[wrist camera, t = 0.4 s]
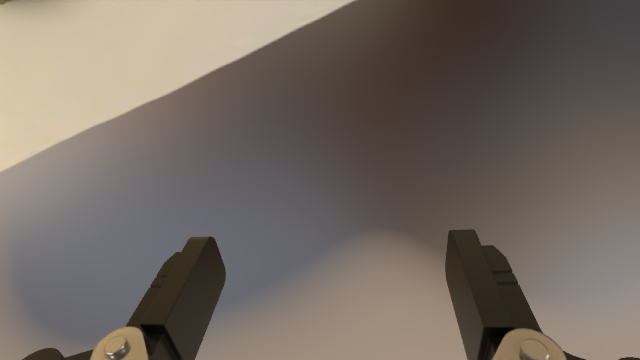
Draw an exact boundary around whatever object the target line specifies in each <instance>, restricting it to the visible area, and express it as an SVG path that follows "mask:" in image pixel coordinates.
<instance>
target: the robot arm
mask: <svg viewBox="0 0 640 360" xmlns="http://www.w3.org/2000/svg"><path fill="white" fill-rule="evenodd" d="M445 272H446V280H447V285H448V288H449V292H450V296H451V300H452V303H453V307H454V310H455V314H456V318H457V322H458V325H459V329H460V333H461V337H462V340H463V344H464V348H465V351H466V355H467V359H468V360H585V359H581V358H578V357H576V356H573V355H571V354H568V353H566V352H565V351H563V350H562V349H561V348H560V346H559V345H558V344H557V343H556V342H555V341H553V340H552V339H551V338H549V337H548V336H546V335H545V334H543V333H542V331H541V329H540V327H539V325H538V323H537V321H536V319H535V317H534V315H533V313H532V311H531V309H530V307H529V304H528V302H527V300H526V298H525V296H524V294H523V292H522V290H521V288H520V286H519V285H518V282H517V279H516V278H515V275H514V274H513V273H512V269H511V267H510V265H509V263H508V261H507V259H506V257H505V256H504V255H503V254H502V253H501V252H500V251H499V250H497V249H496V248H495V247H494V246H493V245H492V246H490V245H489V246H481V244H480V241H479V239H478V236H477V234H476V232H475V231H474V230H450V231H449V233H448V242H447V252H446V263H445ZM225 276H226V272H225V267H224V263H223V261H222V258H221V255H220V252H219V249H218V246H217V243H216V241H215V239H214V238H213V237H191V238H190V239H189V240H188V241H187V243H186V245H185V247H184V248H183V250H182V252H176V253H175V254H174V255H173V256H172V257H170V258H169V259H168V260H167V261H166V262H165V263H164V264H163V266H162V268H161V269H160V271H159V272H158V274H157V278H155V279H154V281H153V282H152V284H151V288H149V289H148V291H147V292H146V294H145V295H144V297H143V299H142V300H141V302H140V304H139V305H138V307H137V308H136V310H135V312H134V313H133V315H132V317H131V318H130V320H129V322H128V323H127V325H126V326H125V327H123V328H120V329H117V330H115V331H113V332H111V333H110V334H108V335H107V336H105V337H104V338H103V339H102V340H101V341H100V342H99V343H98V344H97V345H96V347H95V348H94V349H93V350H90V351H86V352H83V353H80V354H76V355H73V356H69V357H66V358H64V356H63V355H62V354H61V353H60V352H59V351H58V350H57V349H54V348H45V349H42V350H39V351H36V352H34V353H32V354H30V355H28V356H27V357H25V358H24V359H23V360H195V357H196V355H197V353H198V350H199V347H200V345H201V342H202V340H203V337H204V335H205V332H206V330H207V327H208V325H209V322H210V319H211V317H212V314H213V312H214V309H215V307H216V304H217V302H218V299H219V297H220V294H221V291H222V289H223V286H224V283H225ZM619 360H640V359H639V358H633V357H627V358H621V359H619Z"/></svg>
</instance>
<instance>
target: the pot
mask: <svg viewBox="0 0 640 360" xmlns="http://www.w3.org/2000/svg"><path fill="white" fill-rule="evenodd" d="M9 1H12V0H0V4H4V3H6V2H9Z"/></svg>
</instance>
